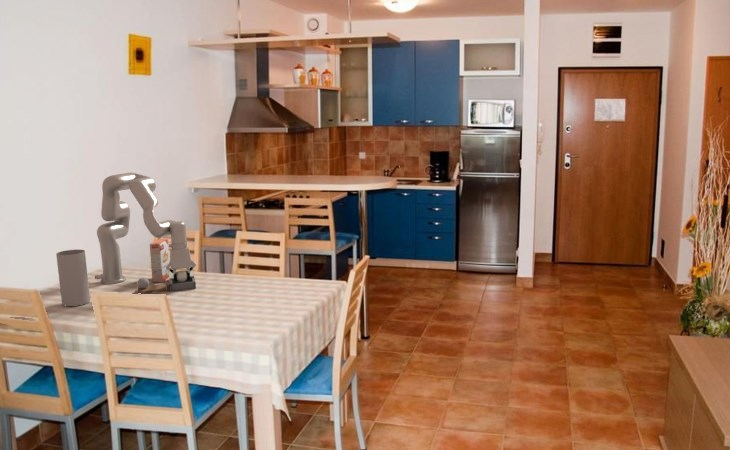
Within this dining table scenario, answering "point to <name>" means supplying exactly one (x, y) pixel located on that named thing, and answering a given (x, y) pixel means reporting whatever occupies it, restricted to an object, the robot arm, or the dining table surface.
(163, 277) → the cracker box
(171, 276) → the lid
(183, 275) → the cream matte ball
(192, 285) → the bin
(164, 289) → the board
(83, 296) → the cylinder vase
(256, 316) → the dining table surface
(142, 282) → the grey matte ball
